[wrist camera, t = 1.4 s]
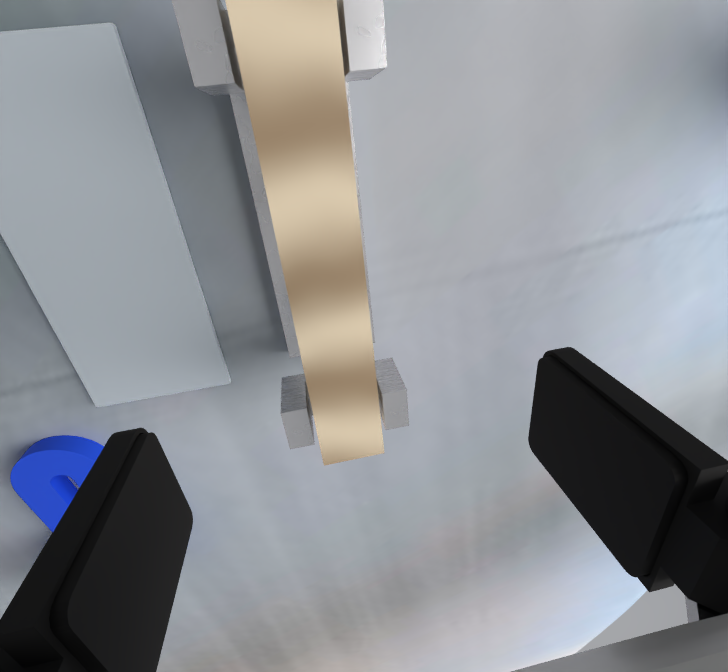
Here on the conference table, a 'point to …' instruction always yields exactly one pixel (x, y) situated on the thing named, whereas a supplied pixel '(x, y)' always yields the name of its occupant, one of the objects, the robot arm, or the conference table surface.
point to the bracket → (53, 474)
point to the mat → (98, 218)
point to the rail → (313, 208)
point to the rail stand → (222, 76)
